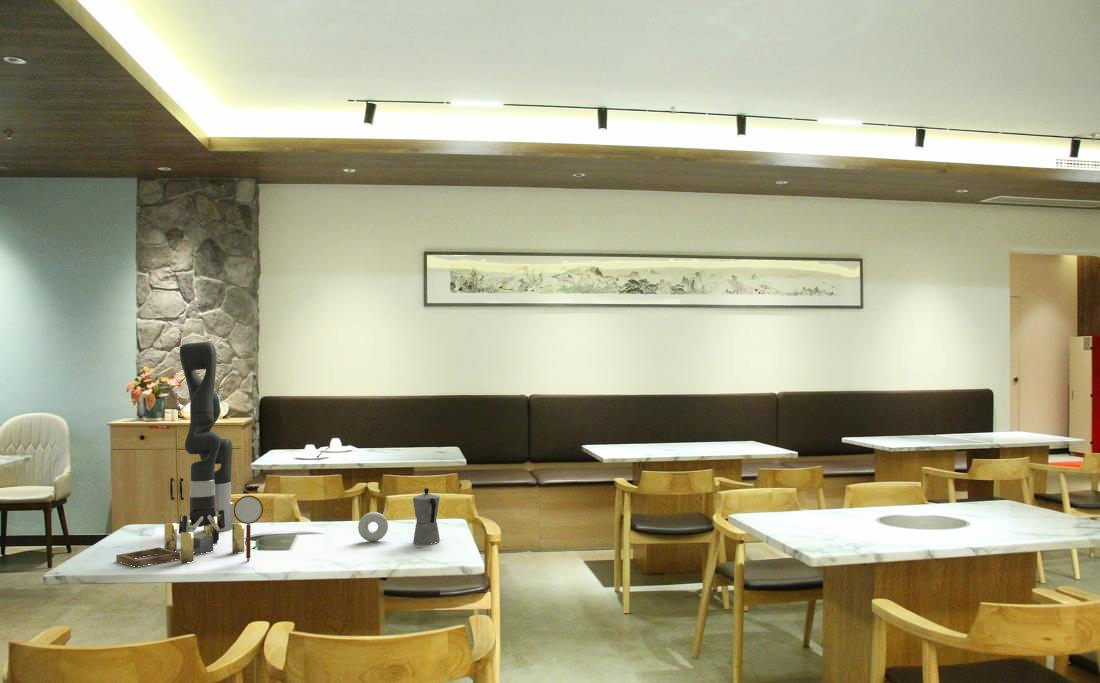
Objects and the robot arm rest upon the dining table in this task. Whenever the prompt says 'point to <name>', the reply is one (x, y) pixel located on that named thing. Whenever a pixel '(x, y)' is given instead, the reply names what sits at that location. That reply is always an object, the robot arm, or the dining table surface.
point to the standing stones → (188, 539)
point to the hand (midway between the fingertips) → (202, 545)
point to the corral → (130, 557)
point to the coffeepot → (426, 518)
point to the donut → (367, 520)
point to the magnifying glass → (248, 515)
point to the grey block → (203, 544)
